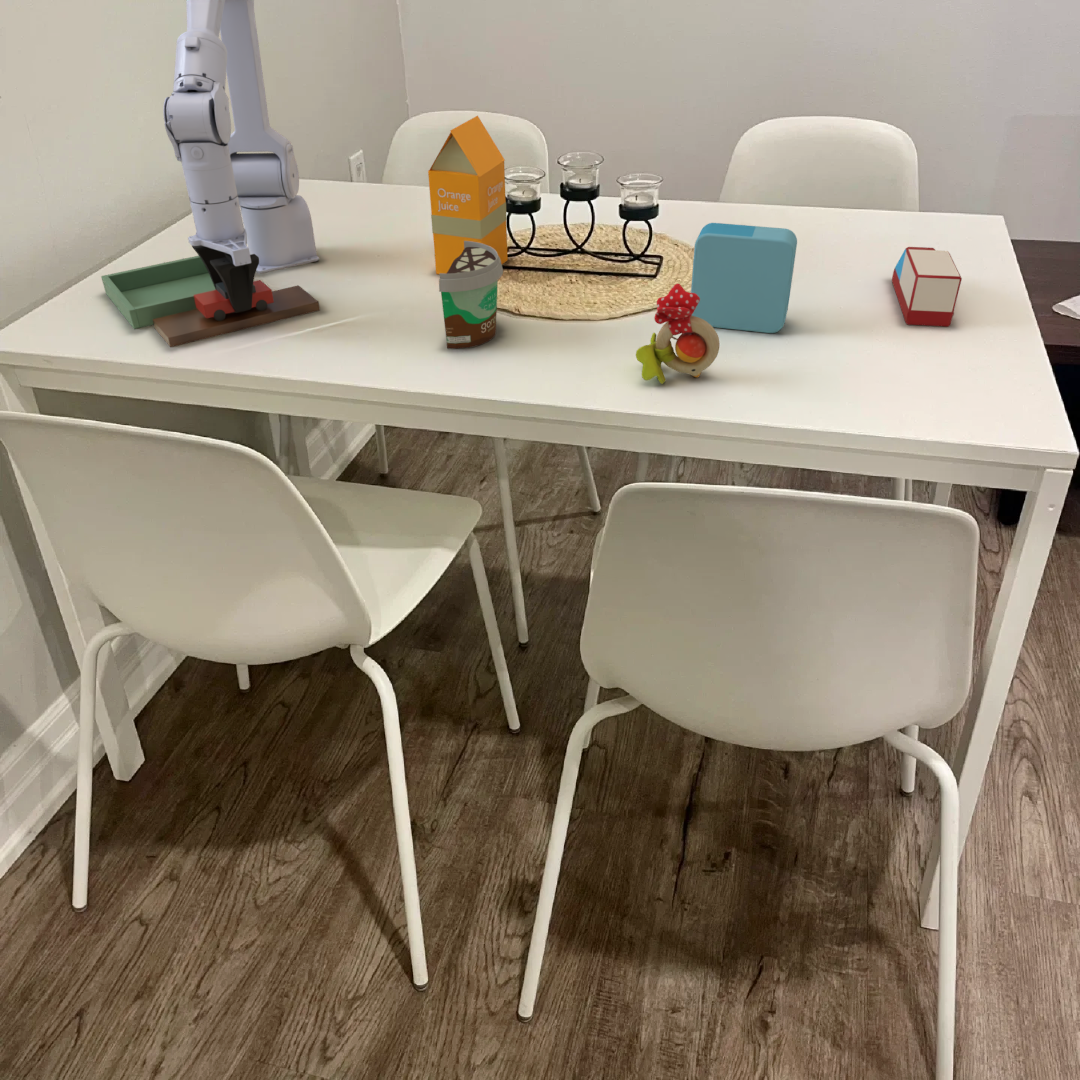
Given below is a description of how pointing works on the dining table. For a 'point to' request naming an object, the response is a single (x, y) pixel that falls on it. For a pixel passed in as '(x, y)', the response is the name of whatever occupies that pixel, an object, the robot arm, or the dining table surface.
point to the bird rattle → (692, 345)
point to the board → (234, 318)
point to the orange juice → (467, 194)
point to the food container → (471, 296)
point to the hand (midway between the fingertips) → (235, 302)
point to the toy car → (219, 302)
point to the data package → (743, 276)
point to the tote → (157, 289)
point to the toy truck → (926, 286)
